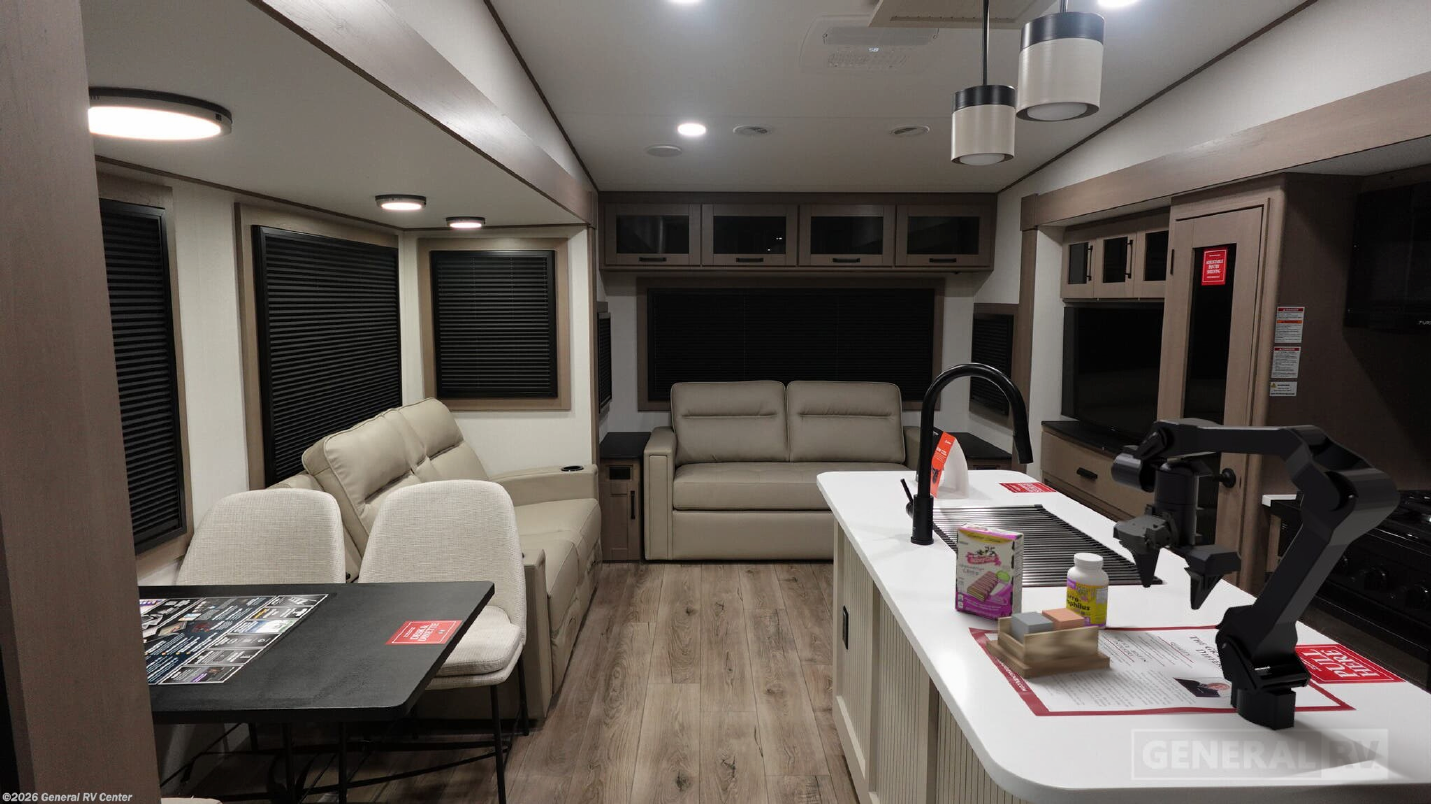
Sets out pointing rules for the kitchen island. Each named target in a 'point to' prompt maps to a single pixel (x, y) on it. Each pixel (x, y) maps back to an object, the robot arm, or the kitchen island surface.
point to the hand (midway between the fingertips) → (1169, 598)
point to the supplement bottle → (1088, 589)
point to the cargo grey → (1029, 624)
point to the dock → (1047, 663)
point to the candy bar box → (989, 571)
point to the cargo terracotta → (1064, 619)
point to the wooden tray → (1048, 643)
